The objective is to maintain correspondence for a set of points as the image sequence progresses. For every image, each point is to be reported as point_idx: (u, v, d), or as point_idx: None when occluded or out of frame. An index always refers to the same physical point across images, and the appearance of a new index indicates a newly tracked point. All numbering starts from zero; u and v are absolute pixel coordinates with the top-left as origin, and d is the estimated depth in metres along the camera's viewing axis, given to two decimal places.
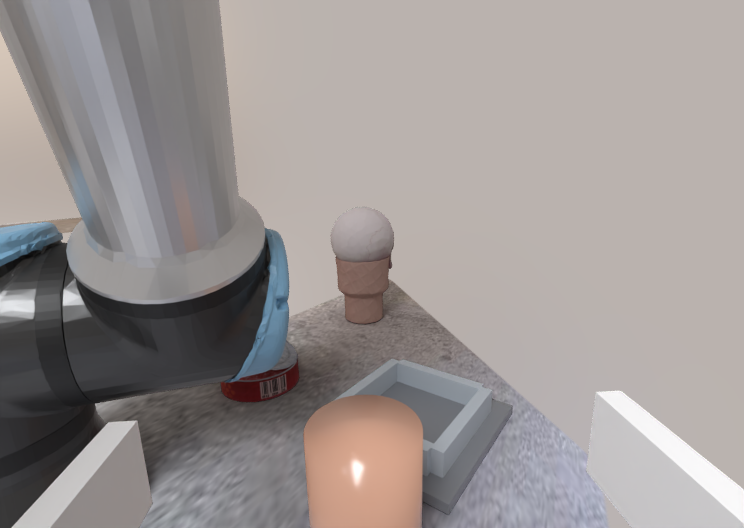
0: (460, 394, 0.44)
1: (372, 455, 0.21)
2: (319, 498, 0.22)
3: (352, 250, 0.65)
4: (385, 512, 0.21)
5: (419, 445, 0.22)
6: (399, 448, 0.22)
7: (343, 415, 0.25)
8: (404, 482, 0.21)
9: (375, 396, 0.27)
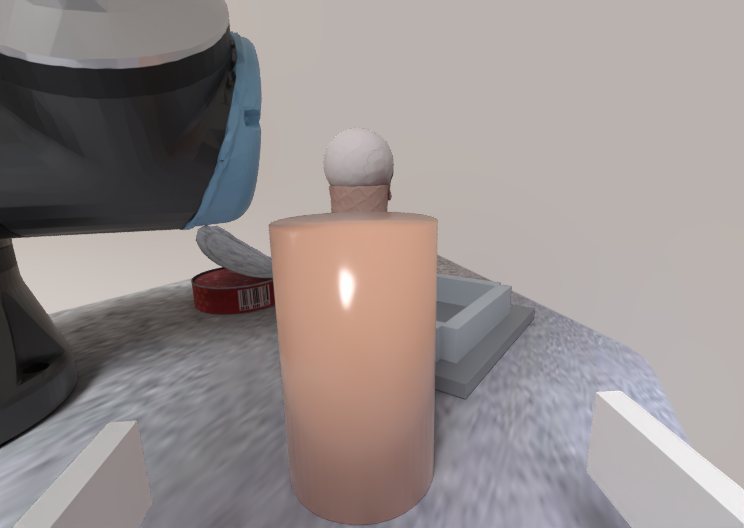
0: (473, 296, 0.38)
1: (365, 229, 0.15)
2: (290, 296, 0.15)
3: (347, 171, 0.58)
4: (384, 307, 0.14)
5: (433, 226, 0.15)
6: (405, 225, 0.15)
7: (327, 217, 0.18)
8: (412, 267, 0.15)
9: None
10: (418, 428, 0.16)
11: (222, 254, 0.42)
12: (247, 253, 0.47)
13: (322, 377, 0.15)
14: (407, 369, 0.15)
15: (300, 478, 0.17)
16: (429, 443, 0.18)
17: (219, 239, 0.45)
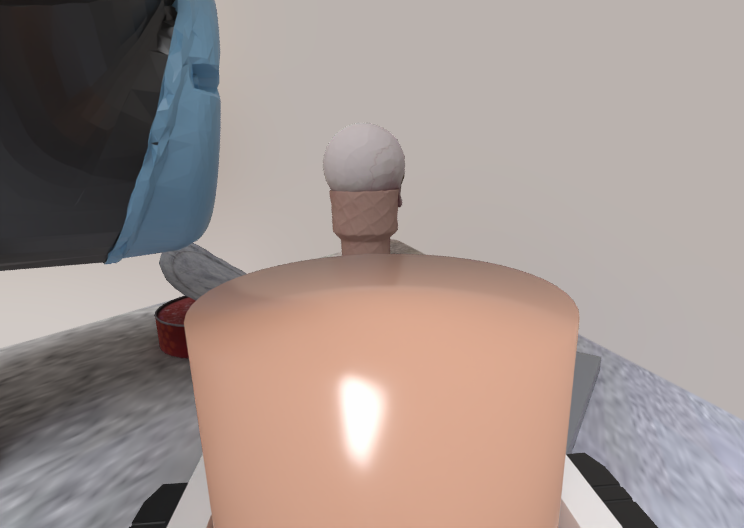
0: None
1: (420, 341, 0.06)
2: (226, 505, 0.06)
3: (351, 174, 0.49)
4: None
5: None
6: (513, 324, 0.06)
7: (324, 275, 0.09)
8: (545, 443, 0.06)
9: (404, 255, 0.11)
10: None
11: (193, 280, 0.33)
12: (228, 276, 0.38)
13: None
14: None
15: None
16: None
17: (193, 259, 0.36)
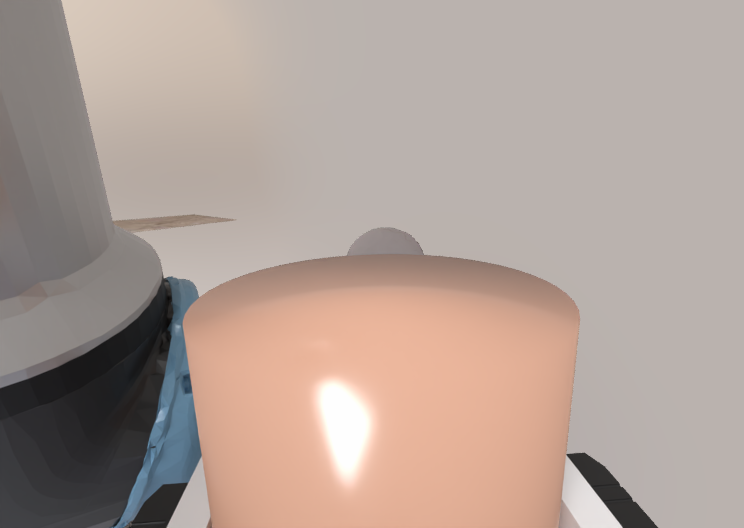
0: None
1: (419, 342, 0.06)
2: (225, 506, 0.06)
3: None
4: None
5: None
6: (514, 325, 0.06)
7: (323, 276, 0.09)
8: (545, 445, 0.06)
9: (404, 255, 0.11)
10: None
11: None
12: None
13: None
14: None
15: None
16: None
17: None
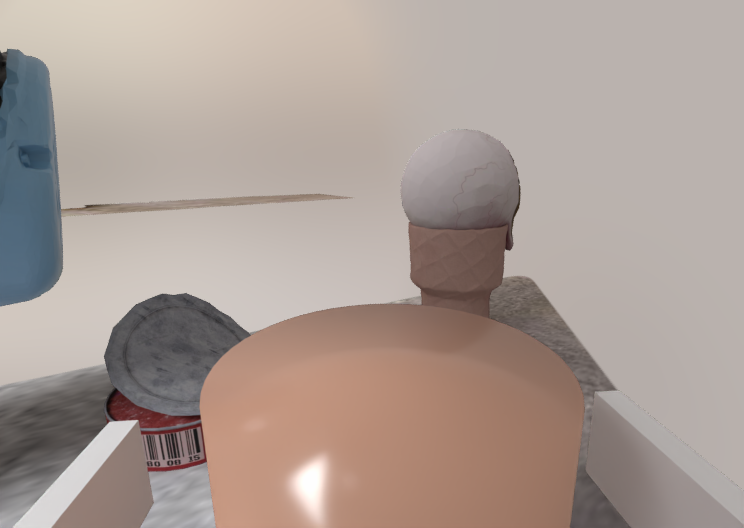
0: None
1: (431, 440, 0.06)
2: None
3: (427, 205, 0.34)
4: None
5: None
6: (521, 417, 0.06)
7: (332, 337, 0.09)
8: None
9: (410, 306, 0.11)
10: None
11: (149, 356, 0.25)
12: (217, 344, 0.29)
13: None
14: None
15: None
16: None
17: (175, 319, 0.28)
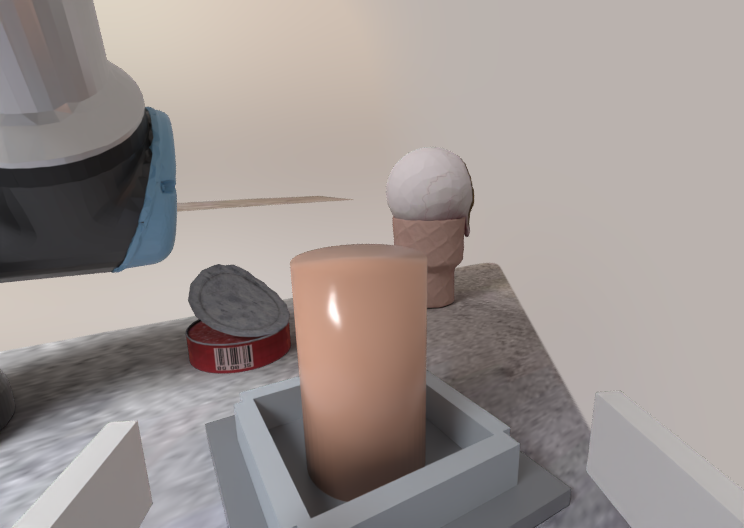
0: (466, 435, 0.24)
1: (370, 269, 0.18)
2: (310, 323, 0.19)
3: (404, 202, 0.47)
4: (386, 332, 0.18)
5: (424, 264, 0.19)
6: (401, 265, 0.19)
7: (336, 253, 0.22)
8: (407, 300, 0.18)
9: (371, 244, 0.24)
10: (412, 425, 0.20)
11: (215, 302, 0.38)
12: (256, 298, 0.42)
13: (336, 387, 0.19)
14: (403, 379, 0.19)
15: (317, 467, 0.21)
16: (421, 437, 0.22)
17: (228, 281, 0.41)
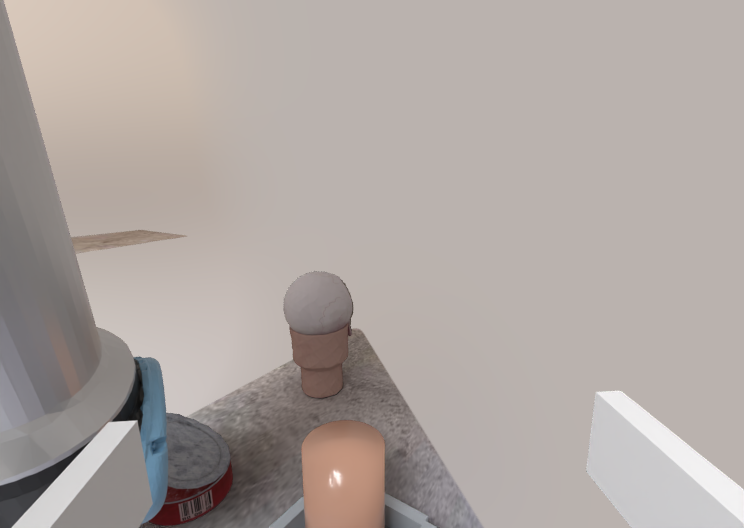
0: (402, 526, 0.39)
1: (362, 458, 0.32)
2: (331, 501, 0.31)
3: (304, 323, 0.59)
4: (375, 492, 0.32)
5: (384, 443, 0.34)
6: (375, 449, 0.33)
7: (323, 441, 0.34)
8: (382, 469, 0.33)
9: (335, 422, 0.37)
10: None
11: None
12: (195, 439, 0.48)
13: None
14: (381, 513, 0.33)
15: None
16: None
17: (167, 432, 0.46)
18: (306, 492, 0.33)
